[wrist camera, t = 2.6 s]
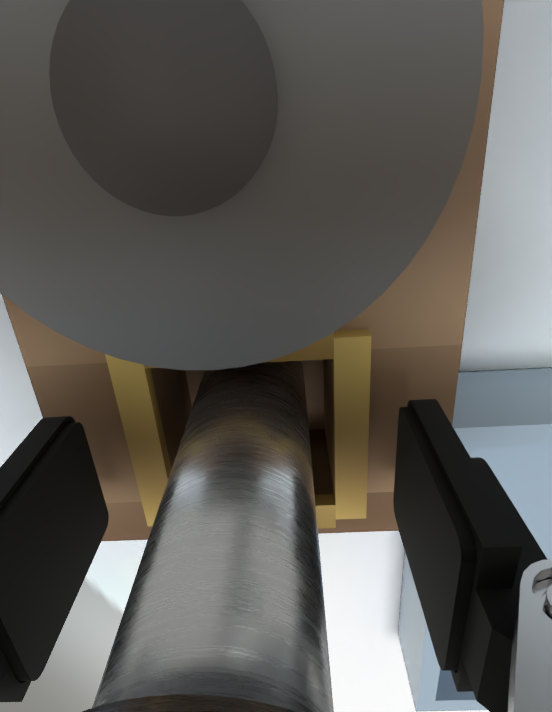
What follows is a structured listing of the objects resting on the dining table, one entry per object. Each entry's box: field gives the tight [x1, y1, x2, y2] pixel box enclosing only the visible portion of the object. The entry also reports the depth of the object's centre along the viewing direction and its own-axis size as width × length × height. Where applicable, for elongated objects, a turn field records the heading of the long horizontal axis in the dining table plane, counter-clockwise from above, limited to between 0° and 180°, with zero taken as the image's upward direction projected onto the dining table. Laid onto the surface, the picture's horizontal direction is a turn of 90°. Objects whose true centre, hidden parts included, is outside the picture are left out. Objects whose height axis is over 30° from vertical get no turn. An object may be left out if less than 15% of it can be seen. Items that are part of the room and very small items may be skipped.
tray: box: [398, 368, 552, 711], centre depth 16 cm, size 13×9×3 cm
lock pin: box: [83, 361, 334, 712], centre depth 9 cm, size 4×4×11 cm
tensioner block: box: [0, 0, 504, 541], centre depth 10 cm, size 14×10×8 cm
